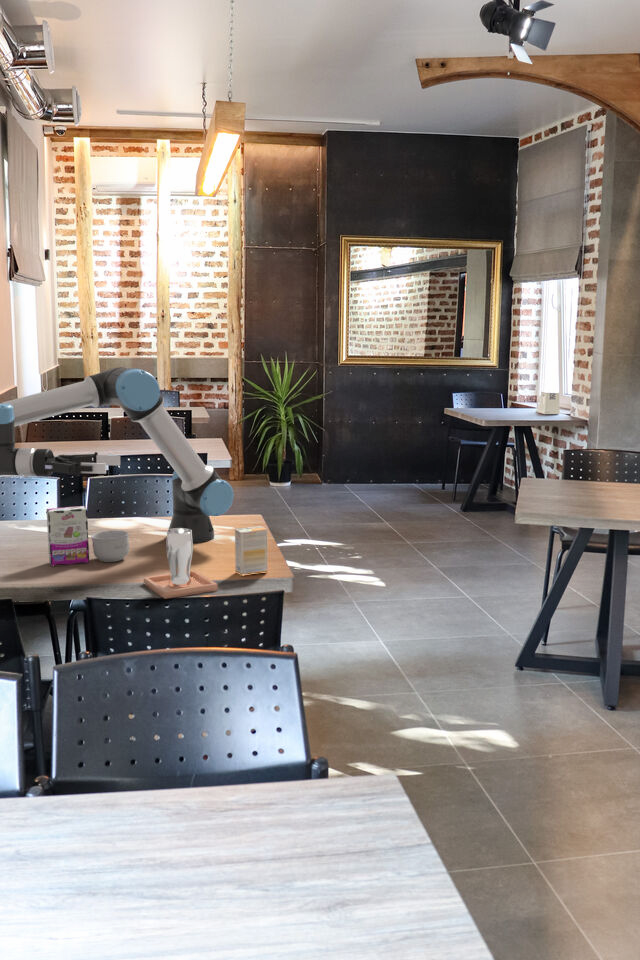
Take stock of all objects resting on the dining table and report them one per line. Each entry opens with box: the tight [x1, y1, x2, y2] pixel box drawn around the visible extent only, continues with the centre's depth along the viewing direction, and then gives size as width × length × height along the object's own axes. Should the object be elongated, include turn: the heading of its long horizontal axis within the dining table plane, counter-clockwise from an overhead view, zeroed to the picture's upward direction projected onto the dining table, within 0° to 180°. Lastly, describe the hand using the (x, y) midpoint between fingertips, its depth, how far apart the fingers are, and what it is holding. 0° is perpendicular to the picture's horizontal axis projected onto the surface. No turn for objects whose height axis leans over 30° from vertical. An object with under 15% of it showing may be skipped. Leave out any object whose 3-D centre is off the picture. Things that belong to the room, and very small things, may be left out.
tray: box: [143, 569, 218, 600], centre depth 243 cm, size 15×15×2 cm
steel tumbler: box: [165, 528, 194, 588], centre depth 241 cm, size 7×7×15 cm
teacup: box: [91, 528, 130, 563], centre depth 270 cm, size 14×11×8 cm
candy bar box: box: [46, 505, 90, 567], centre depth 263 cm, size 11×5×16 cm, turn 114°
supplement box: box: [234, 525, 268, 575], centre depth 256 cm, size 8×5×13 cm, turn 117°
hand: (113, 464), depth 244 cm, fingers open, 13 cm apart
